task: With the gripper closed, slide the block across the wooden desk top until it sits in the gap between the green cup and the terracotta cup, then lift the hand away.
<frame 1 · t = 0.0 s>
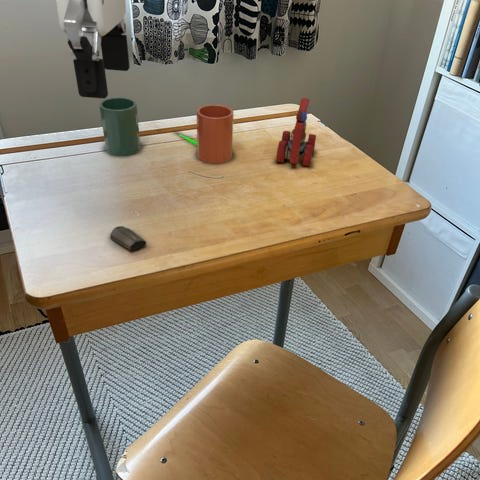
hand: (106, 82, 61), 25 cm above the table, tool pointing down, fingers open, 9 cm apart
block: (128, 243, 81), on the table
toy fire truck: (295, 158, 106), on the table
far cup: (214, 155, 105), on the table
green cup: (123, 148, 105), on the table
green marker pen: (196, 146, 109), on the table
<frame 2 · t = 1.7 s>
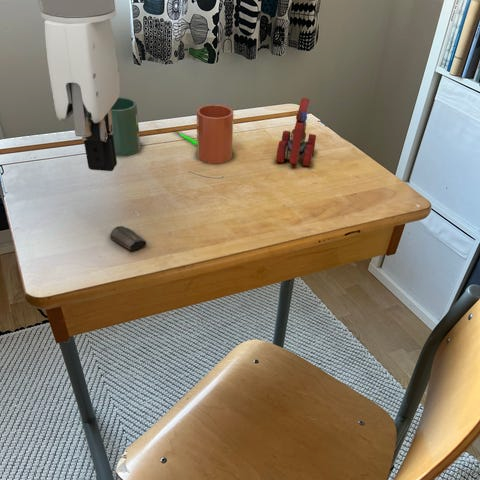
hand: (103, 167, 65), 16 cm above the table, tool pointing down, fingers closed
nothing on the table moved.
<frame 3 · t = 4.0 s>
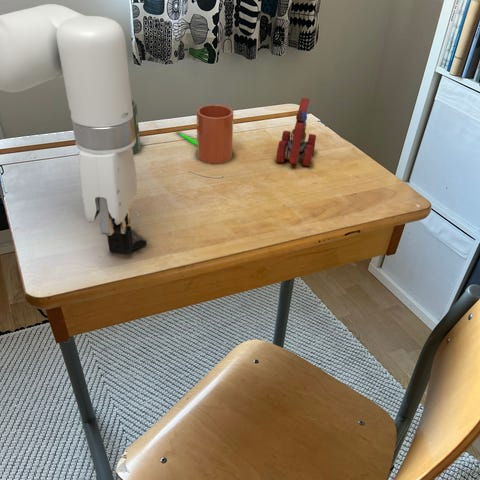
hand: (121, 250, 77), 1 cm above the table, tool pointing down, fingers closed
block: (129, 243, 81), on the table, touching gripper
everything else where it was.
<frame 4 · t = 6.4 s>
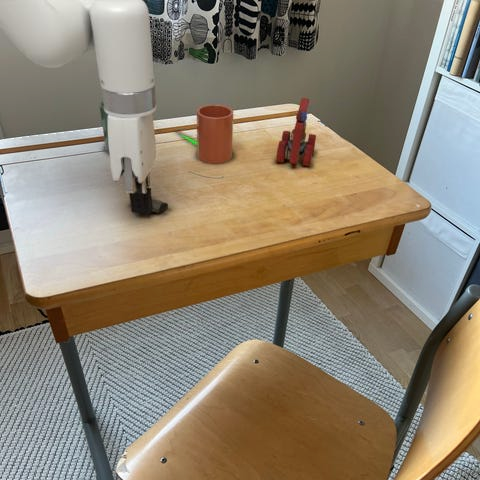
hand: (142, 210, 86), 1 cm above the table, tool pointing down, fingers closed
block: (149, 208, 89), on the table, touching gripper
everything else where it was.
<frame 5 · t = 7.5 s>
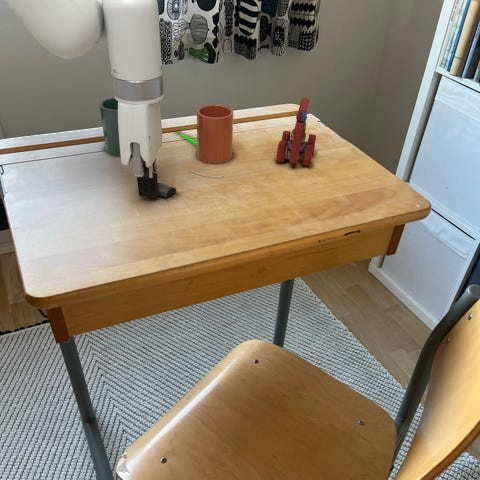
hand: (148, 195, 90), 1 cm above the table, tool pointing down, fingers closed
block: (158, 193, 93), on the table, touching gripper
everything else where it was.
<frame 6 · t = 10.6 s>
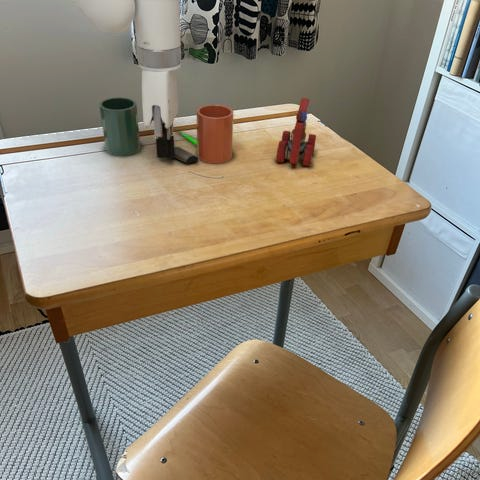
hand: (165, 156, 101), 1 cm above the table, tool pointing down, fingers closed
block: (184, 160, 103), on the table, touching gripper
everything else where it was.
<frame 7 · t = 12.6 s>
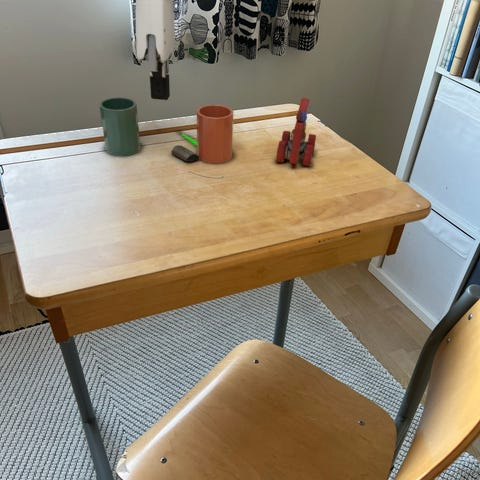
hand: (160, 97, 95), 12 cm above the table, tool pointing down, fingers closed
block: (185, 158, 104), on the table
everything else where it was.
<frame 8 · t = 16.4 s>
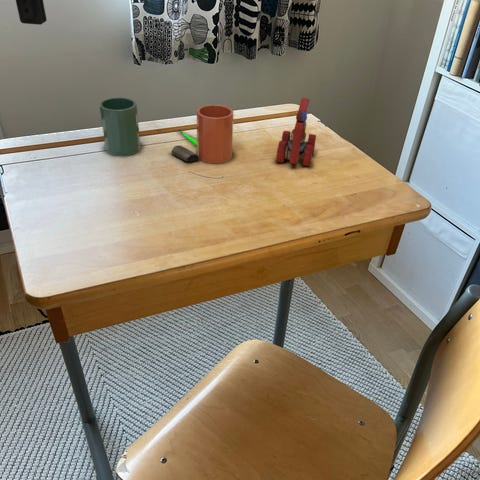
hand: (33, 22, 72), 27 cm above the table, tool pointing down, fingers closed
nothing on the table moved.
at the end: block inside the target area on the table beside the far cup (4.2 cm from its centre), on the table; the gripper is holding nothing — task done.
